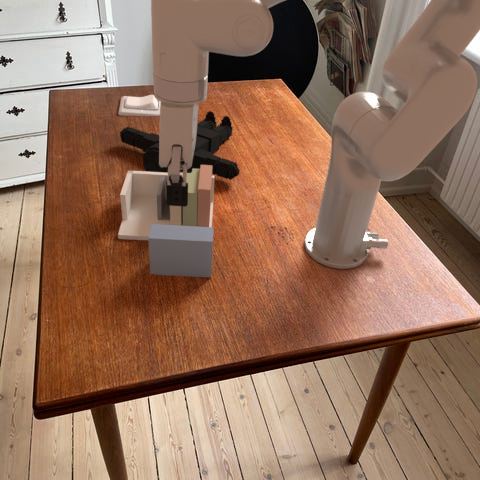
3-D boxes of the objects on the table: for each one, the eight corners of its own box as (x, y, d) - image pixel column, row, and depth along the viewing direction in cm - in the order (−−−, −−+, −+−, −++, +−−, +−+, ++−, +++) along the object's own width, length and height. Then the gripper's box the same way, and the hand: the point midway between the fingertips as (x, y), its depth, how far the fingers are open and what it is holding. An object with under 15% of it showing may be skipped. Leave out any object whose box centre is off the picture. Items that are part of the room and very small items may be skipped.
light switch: (165, 107, 138) (118, 103, 136) (164, 121, 140) (118, 117, 138) (165, 91, 146) (120, 87, 144) (165, 104, 149) (121, 101, 146)
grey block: (153, 260, 93) (151, 224, 88) (212, 262, 94) (213, 227, 88) (150, 274, 90) (148, 238, 85) (211, 277, 90) (212, 241, 85)
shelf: (213, 202, 109) (215, 160, 102) (210, 243, 98) (212, 199, 91) (130, 198, 108) (126, 155, 101) (118, 238, 97) (113, 194, 90)
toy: (275, 130, 125) (216, 174, 103) (271, 158, 130) (214, 206, 107) (167, 98, 136) (92, 131, 113) (166, 124, 140) (94, 161, 118)
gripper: (161, 61, 76) (163, 159, 87) (144, 109, 63) (149, 218, 74) (210, 65, 77) (205, 162, 87) (204, 114, 63) (200, 221, 74)
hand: (180, 187), depth 80 cm, fingers open, 9 cm apart
